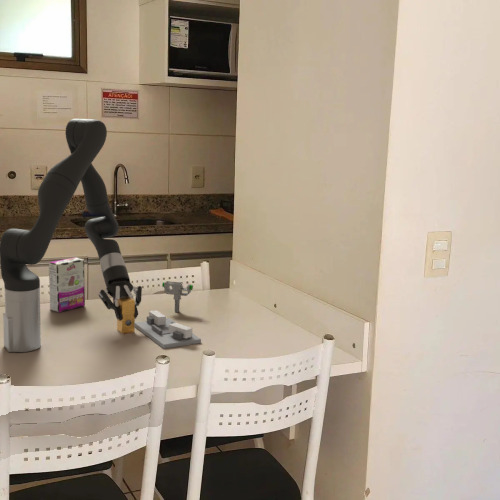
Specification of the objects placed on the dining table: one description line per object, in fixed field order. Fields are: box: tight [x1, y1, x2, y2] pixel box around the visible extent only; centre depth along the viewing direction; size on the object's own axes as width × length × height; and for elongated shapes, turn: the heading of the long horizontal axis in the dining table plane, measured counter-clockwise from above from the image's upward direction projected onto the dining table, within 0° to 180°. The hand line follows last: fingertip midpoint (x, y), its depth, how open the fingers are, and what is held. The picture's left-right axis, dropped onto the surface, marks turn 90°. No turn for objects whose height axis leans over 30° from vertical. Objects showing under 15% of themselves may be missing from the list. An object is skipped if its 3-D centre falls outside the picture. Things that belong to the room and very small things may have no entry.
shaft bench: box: [134, 310, 202, 349], centre depth 205 cm, size 12×22×4 cm, turn 32°
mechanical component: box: [161, 280, 194, 313], centre depth 227 cm, size 3×10×10 cm, turn 78°
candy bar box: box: [48, 256, 86, 313], centre depth 225 cm, size 11×5×16 cm, turn 143°
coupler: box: [116, 297, 136, 334], centre depth 206 cm, size 4×5×10 cm
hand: (128, 318), depth 204 cm, fingers closed on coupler, 4 cm apart
